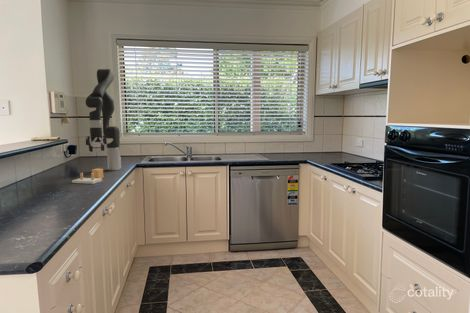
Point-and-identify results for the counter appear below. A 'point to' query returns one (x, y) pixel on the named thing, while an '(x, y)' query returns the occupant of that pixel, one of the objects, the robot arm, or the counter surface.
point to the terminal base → (87, 179)
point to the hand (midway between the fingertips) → (96, 151)
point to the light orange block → (98, 173)
